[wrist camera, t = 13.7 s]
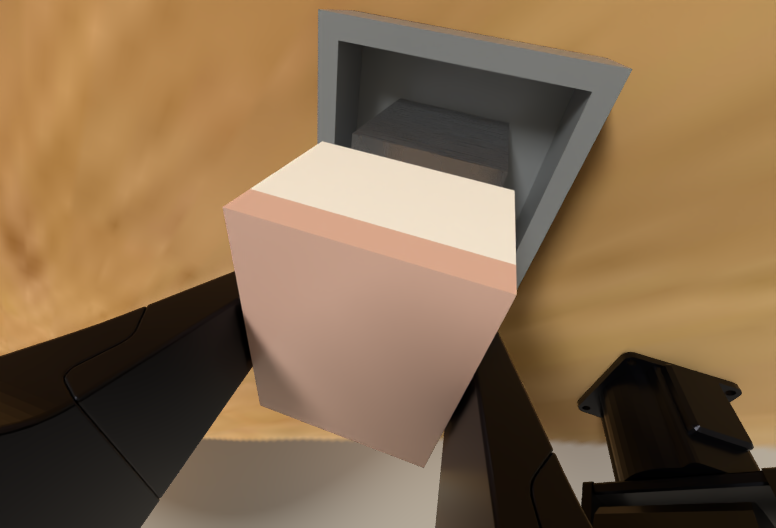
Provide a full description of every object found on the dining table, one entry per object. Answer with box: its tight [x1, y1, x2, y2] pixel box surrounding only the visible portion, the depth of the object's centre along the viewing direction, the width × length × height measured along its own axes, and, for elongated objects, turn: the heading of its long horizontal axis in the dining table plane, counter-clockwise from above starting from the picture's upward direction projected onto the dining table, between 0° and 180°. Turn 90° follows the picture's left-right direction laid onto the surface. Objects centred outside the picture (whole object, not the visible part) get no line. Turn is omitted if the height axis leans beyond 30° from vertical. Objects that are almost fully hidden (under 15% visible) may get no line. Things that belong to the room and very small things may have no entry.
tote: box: [318, 9, 632, 289], centre depth 16 cm, size 11×11×4 cm
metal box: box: [351, 98, 509, 187], centre depth 14 cm, size 5×5×6 cm
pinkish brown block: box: [223, 141, 517, 468], centre depth 8 cm, size 6×4×4 cm
